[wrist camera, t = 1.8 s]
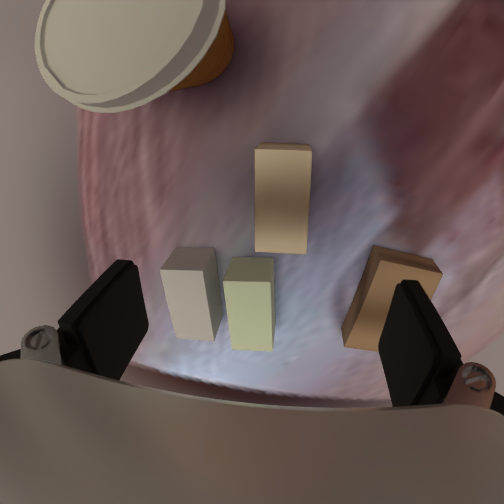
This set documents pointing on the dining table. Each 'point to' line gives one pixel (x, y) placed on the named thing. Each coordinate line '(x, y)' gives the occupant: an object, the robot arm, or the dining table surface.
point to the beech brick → (282, 197)
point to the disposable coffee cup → (130, 49)
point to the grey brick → (193, 293)
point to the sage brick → (250, 302)
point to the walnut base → (383, 293)
